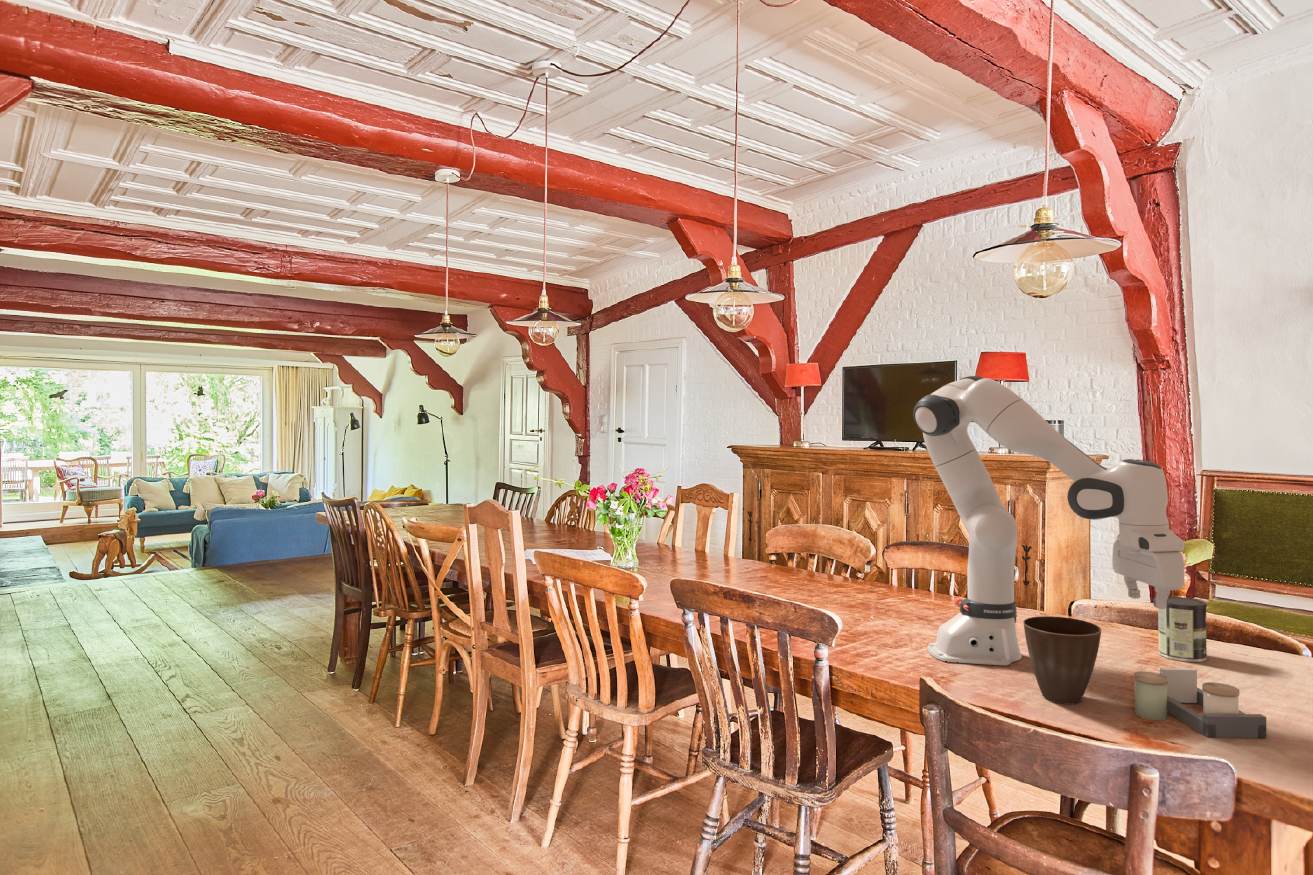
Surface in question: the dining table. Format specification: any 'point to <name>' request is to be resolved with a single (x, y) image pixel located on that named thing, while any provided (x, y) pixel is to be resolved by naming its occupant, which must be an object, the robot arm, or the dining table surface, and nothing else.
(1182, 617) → the coffee can
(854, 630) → the dining table surface
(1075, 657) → the plant pot
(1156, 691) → the sage jar
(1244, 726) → the tray
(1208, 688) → the cream jar
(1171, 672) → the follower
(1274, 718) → the dining table surface
